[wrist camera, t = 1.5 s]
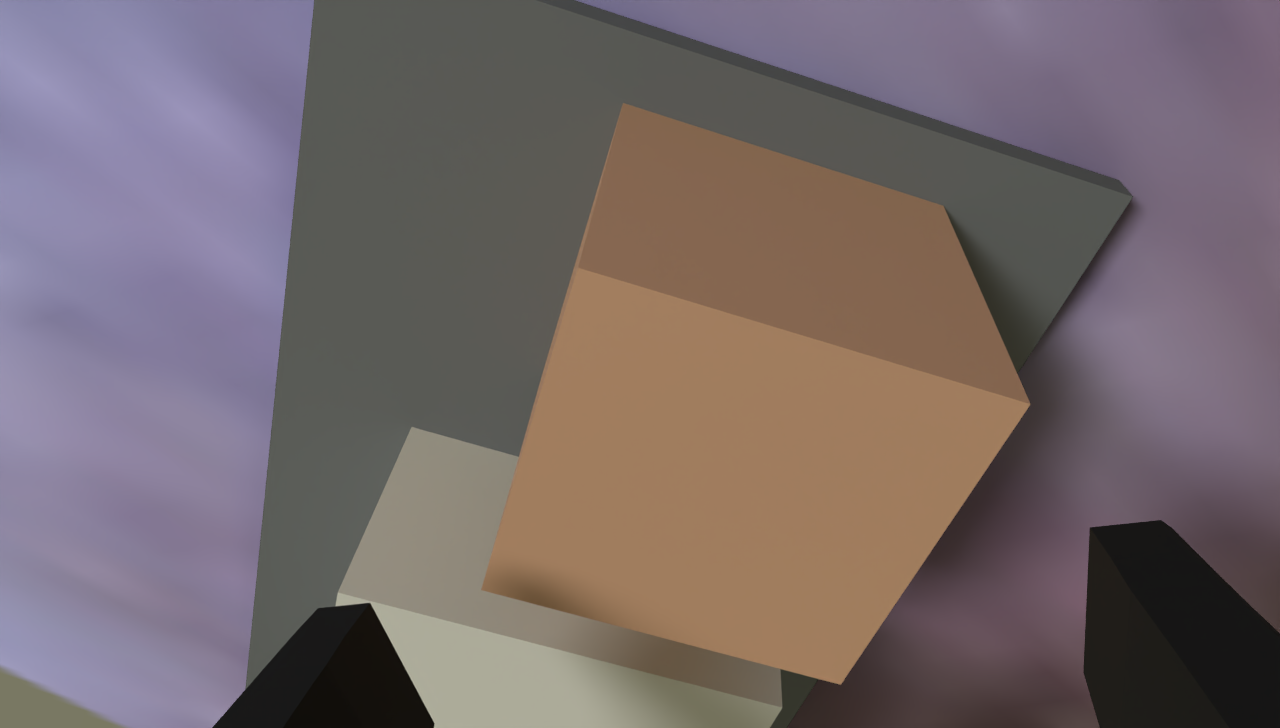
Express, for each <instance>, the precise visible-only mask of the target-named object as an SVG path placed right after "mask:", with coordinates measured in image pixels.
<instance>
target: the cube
mask: <svg viewBox="0 0 1280 728" xmlns="http://www.w3.org/2000/svg"><path fill="white" fill-rule="evenodd" d="M1029 406H1030V402H1029V399H1028V397H1027V395H1026V393H1025V390H1024V388H1023V386H1022V383H1021V381H1020V379H1019V377H1018V374H1017V372H1016V370H1015V368H1014V365H1013V363H1012V361H1011V358H1010V356H1009V354H1008V352H1007V349H1006V347H1005V345H1004V343H1003V340H1002V338H1001V336H1000V333H999V331H998V329H997V327H996V324H995V322H994V320H993V317H992V315H991V313H990V311H989V308H988V306H987V304H986V302H985V299H984V297H983V295H982V292H981V290H980V288H979V286H978V283H977V281H976V279H975V277H974V274H973V272H972V270H971V267H970V265H969V263H968V261H967V258H966V256H965V254H964V252H963V249H962V247H961V245H960V242H959V240H958V238H957V236H956V233H955V231H954V229H953V227H952V224H951V222H950V220H949V217H948V215H947V213H946V211H945V208H944V206H943V205H939V204H936V203H933V202H930V201H927V200H924V199H921V198H918V197H914V196H911V195H908V194H905V193H902V192H899V191H896V190H893V189H890V188H886V187H883V186H880V185H877V184H874V183H871V182H868V181H865V180H862V179H858V178H855V177H852V176H849V175H846V174H843V173H840V172H837V171H834V170H830V169H827V168H824V167H821V166H818V165H815V164H812V163H809V162H806V161H802V160H799V159H796V158H793V157H790V156H787V155H784V154H781V153H778V152H774V151H771V150H768V149H765V148H762V147H759V146H756V145H753V144H749V143H746V142H743V141H740V140H737V139H734V138H731V137H728V136H725V135H721V134H718V133H715V132H712V131H709V130H706V129H703V128H700V127H697V126H693V125H690V124H687V123H684V122H681V121H678V120H675V119H672V118H669V117H665V116H662V115H659V114H656V113H653V112H650V111H647V110H644V109H641V108H637V107H634V106H631V105H628V104H625V103H623V105H622V108H621V111H620V115H619V118H618V121H617V125H616V128H615V132H614V135H613V138H612V142H611V145H610V148H609V152H608V155H607V158H606V162H605V165H604V169H603V172H602V175H601V179H600V182H599V185H598V189H597V192H596V195H595V199H594V202H593V205H592V209H591V212H590V216H589V219H588V222H587V226H586V229H585V232H584V236H583V239H582V242H581V246H580V249H579V252H578V256H577V259H576V263H575V266H574V269H573V273H572V276H571V279H570V283H569V286H568V289H567V293H566V296H565V299H564V303H563V306H562V310H561V313H560V316H559V320H558V323H557V326H556V330H555V333H554V336H553V340H552V343H551V347H550V350H549V353H548V357H547V360H546V363H545V367H544V370H543V373H542V377H541V380H540V384H539V388H538V391H537V395H536V398H535V402H534V405H533V409H532V412H531V416H530V419H529V423H528V426H527V430H526V433H525V437H524V440H523V444H522V448H521V451H520V455H519V458H518V462H517V465H516V469H515V472H514V476H513V479H512V483H511V486H510V490H509V493H508V497H507V500H506V504H505V508H504V511H503V515H502V518H501V522H500V525H499V529H498V532H497V536H496V539H495V543H494V546H493V550H492V553H491V557H490V560H489V564H488V567H487V571H486V575H485V578H484V582H483V585H482V589H481V590H483V591H487V592H490V593H494V594H498V595H502V596H506V597H509V598H513V599H517V600H521V601H525V602H528V603H532V604H536V605H540V606H544V607H547V608H551V609H555V610H559V611H562V612H566V613H570V614H574V615H578V616H581V617H585V618H589V619H593V620H597V621H600V622H604V623H608V624H612V625H616V626H619V627H623V628H627V629H631V630H635V631H638V632H642V633H646V634H650V635H654V636H657V637H661V638H665V639H669V640H673V641H676V642H680V643H684V644H688V645H691V646H695V647H699V648H703V649H707V650H710V651H714V652H718V653H722V654H726V655H729V656H733V657H737V658H741V659H745V660H748V661H752V662H756V663H760V664H764V665H767V666H771V667H775V668H779V669H783V670H786V671H790V672H794V673H798V674H802V675H805V676H809V677H813V678H817V679H820V680H824V681H828V682H832V683H836V684H839V685H841V684H842V682H843V681H844V679H845V678H846V676H847V675H848V673H849V672H850V670H851V669H852V667H853V666H854V664H855V663H856V661H857V660H858V658H859V657H860V656H861V654H862V653H863V651H864V650H865V648H866V647H867V645H868V644H869V642H870V641H871V639H872V638H873V636H874V635H875V633H876V632H877V630H878V629H879V627H880V626H881V625H882V623H883V622H884V620H885V619H886V617H887V616H888V614H889V613H890V611H891V610H892V608H893V607H894V605H895V604H896V602H897V601H898V599H899V598H900V596H901V595H902V593H903V592H904V591H905V589H906V588H907V586H908V585H909V583H910V582H911V580H912V579H913V577H914V576H915V574H916V573H917V571H918V570H919V568H920V567H921V565H922V564H923V562H924V561H925V560H926V558H927V557H928V555H929V554H930V552H931V551H932V549H933V548H934V546H935V545H936V543H937V542H938V540H939V539H940V537H941V536H942V534H943V533H944V531H945V530H946V529H947V527H948V526H949V524H950V523H951V521H952V520H953V518H954V517H955V515H956V514H957V512H958V511H959V509H960V508H961V506H962V505H963V503H964V502H965V500H966V499H967V498H968V496H969V495H970V493H971V492H972V490H973V489H974V487H975V486H976V484H977V483H978V481H979V480H980V478H981V477H982V475H983V474H984V472H985V471H986V469H987V468H988V466H989V465H990V464H991V462H992V461H993V459H994V458H995V456H996V455H997V453H998V452H999V450H1000V449H1001V447H1002V446H1003V444H1004V443H1005V441H1006V440H1007V438H1008V437H1009V435H1010V434H1011V433H1012V431H1013V430H1014V428H1015V427H1016V425H1017V424H1018V422H1019V421H1020V419H1021V418H1022V416H1023V415H1024V413H1025V412H1026V410H1027V409H1028V407H1029Z"/></svg>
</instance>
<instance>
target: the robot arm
mask: <svg viewBox="0 0 1280 728" xmlns="http://www.w3.org/2000/svg"><path fill="white" fill-rule="evenodd" d="M1084 675H1085V679H1086V682H1087V685H1088V689H1089V692H1090V696H1091V699H1092V702H1093V706H1094V709H1095V712H1096V716H1097V719H1098V723H1099V726H1100V728H1280V633H1279V632H1278V631H1276V630H1275V629H1274V628H1273V627H1272V626H1271V625H1270V624H1269V623H1268V622H1267V621H1266V620H1265V619H1264V618H1263V617H1262V616H1261V615H1260V614H1259V613H1258V612H1256V611H1255V610H1254V609H1253V608H1252V607H1251V606H1250V605H1249V604H1248V603H1247V602H1246V601H1245V600H1244V599H1243V598H1242V597H1241V596H1240V595H1239V594H1238V593H1237V592H1236V591H1235V590H1234V589H1233V588H1232V587H1231V586H1230V585H1229V584H1228V583H1226V582H1225V581H1224V580H1223V579H1222V578H1221V577H1220V576H1219V575H1218V574H1217V573H1216V572H1215V571H1214V570H1213V569H1212V568H1211V567H1210V566H1209V565H1208V564H1207V563H1206V562H1205V561H1204V560H1203V559H1202V558H1201V557H1200V556H1199V555H1198V554H1197V553H1196V552H1195V551H1194V550H1193V549H1192V548H1191V547H1190V546H1189V545H1188V544H1187V543H1186V542H1185V541H1184V540H1183V539H1182V538H1181V537H1180V536H1179V535H1178V534H1177V533H1176V532H1175V531H1174V530H1173V529H1172V528H1171V527H1170V526H1168V525H1167V524H1165V523H1164V522H1163V521H1161V520H1158V521H1148V522H1139V523H1129V524H1120V525H1110V526H1101V527H1091V528H1090V537H1089V560H1088V583H1087V606H1086V629H1085V652H1084ZM213 728H434V721H433V720H432V718H431V716H430V714H429V712H428V710H427V708H426V707H425V705H424V703H423V701H422V699H421V697H420V695H419V693H418V692H417V690H416V688H415V686H414V684H413V682H412V680H411V678H410V677H409V675H408V673H407V671H406V669H405V667H404V665H403V663H402V662H401V660H400V658H399V656H398V654H397V652H396V650H395V648H394V647H393V645H392V643H391V641H390V639H389V637H388V635H387V633H386V632H385V630H384V628H383V626H382V624H381V622H380V620H379V618H378V617H377V615H376V613H375V611H374V609H373V607H372V605H371V603H363V604H353V605H343V606H334V607H324V608H318V609H317V610H316V611H315V612H314V613H313V614H312V615H311V616H310V617H309V618H308V619H307V620H306V621H305V623H304V624H303V625H302V626H301V627H300V628H299V629H298V630H297V631H296V632H295V634H294V635H293V636H292V637H291V638H290V639H289V640H288V641H287V643H286V644H285V645H284V646H283V647H282V648H281V649H280V650H279V652H278V653H277V654H276V655H275V656H274V657H273V658H272V660H271V661H270V662H269V663H268V664H267V665H266V667H265V668H264V669H263V670H262V671H261V672H260V673H259V675H258V676H257V677H256V678H255V679H254V680H253V682H252V683H251V684H250V685H249V686H248V687H247V688H246V690H245V691H244V692H243V693H242V694H241V695H240V697H239V698H238V699H237V700H236V701H235V702H234V704H233V705H232V706H231V707H230V708H229V709H228V710H227V712H226V713H225V714H224V715H223V716H222V717H221V718H220V720H219V721H218V722H217V723H216V724H215V725H214V726H213Z"/></svg>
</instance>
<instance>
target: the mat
mask: <svg viewBox="0 0 1280 728" xmlns="http://www.w3.org/2000/svg"><path fill="white" fill-rule="evenodd" d="M623 103H625V104H628V105H631V106H634V107H637V108H641V109H644V110H647V111H650V112H653V113H656V114H659V115H662V116H665V117H669V118H672V119H675V120H678V121H681V122H684V123H687V124H690V125H693V126H697V127H700V128H703V129H706V130H709V131H712V132H715V133H718V134H721V135H725V136H728V137H731V138H734V139H737V140H740V141H743V142H746V143H749V144H753V145H756V146H759V147H762V148H765V149H768V150H771V151H774V152H778V153H781V154H784V155H787V156H790V157H793V158H796V159H799V160H802V161H806V162H809V163H812V164H815V165H818V166H821V167H824V168H827V169H830V170H834V171H837V172H840V173H843V174H846V175H849V176H852V177H855V178H858V179H862V180H865V181H868V182H871V183H874V184H877V185H880V186H883V187H886V188H890V189H893V190H896V191H899V192H902V193H905V194H908V195H911V196H914V197H918V198H921V199H924V200H927V201H930V202H933V203H936V204H939V205H943V206H944V208H945V211H946V213H947V215H948V217H949V220H950V222H951V224H952V227H953V229H954V231H955V233H956V236H957V238H958V240H959V242H960V245H961V247H962V249H963V252H964V254H965V256H966V258H967V261H968V263H969V265H970V267H971V270H972V272H973V274H974V277H975V279H976V281H977V283H978V286H979V288H980V290H981V292H982V295H983V297H984V299H985V302H986V304H987V306H988V308H989V311H990V313H991V315H992V317H993V320H994V322H995V324H996V327H997V329H998V331H999V333H1000V336H1001V338H1002V340H1003V343H1004V345H1005V347H1006V349H1007V352H1008V354H1009V356H1010V358H1011V361H1012V363H1013V365H1014V368H1015V370H1016V372H1017V374H1018V372H1019V371H1020V369H1021V368H1022V366H1023V365H1024V363H1025V362H1026V360H1027V358H1028V357H1029V355H1030V354H1031V352H1032V351H1033V349H1034V348H1035V346H1036V345H1037V343H1038V342H1039V340H1040V339H1041V337H1042V335H1043V334H1044V332H1045V331H1046V329H1047V328H1048V326H1049V325H1050V323H1051V322H1052V320H1053V319H1054V317H1055V316H1056V314H1057V312H1058V311H1059V309H1060V308H1061V306H1062V305H1063V303H1064V302H1065V300H1066V299H1067V297H1068V296H1069V294H1070V293H1071V291H1072V289H1073V288H1074V286H1075V285H1076V283H1077V282H1078V280H1079V279H1080V277H1081V276H1082V274H1083V273H1084V271H1085V270H1086V268H1087V266H1088V265H1089V263H1090V262H1091V260H1092V259H1093V257H1094V256H1095V254H1096V253H1097V251H1098V250H1099V248H1100V247H1101V245H1102V243H1103V242H1104V240H1105V239H1106V237H1107V236H1108V234H1109V233H1110V231H1111V230H1112V228H1113V227H1114V225H1115V224H1116V222H1117V220H1118V219H1119V217H1120V216H1121V214H1122V213H1123V211H1124V210H1125V208H1126V207H1127V205H1128V204H1129V202H1130V201H1131V199H1132V197H1133V196H1132V195H1131V194H1130V193H1129V192H1128V190H1127V189H1126V188H1125V187H1124V186H1123V184H1122V183H1121V182H1120V181H1119V180H1116V179H1113V178H1110V177H1107V176H1104V175H1101V174H1098V173H1095V172H1092V171H1089V170H1086V169H1083V168H1080V167H1077V166H1074V165H1071V164H1068V163H1065V162H1062V161H1059V160H1056V159H1053V158H1050V157H1047V156H1044V155H1041V154H1038V153H1035V152H1032V151H1029V150H1026V149H1023V148H1020V147H1017V146H1014V145H1011V144H1008V143H1005V142H1002V141H999V140H996V139H993V138H989V137H986V136H983V135H980V134H977V133H974V132H971V131H968V130H965V129H962V128H959V127H956V126H953V125H950V124H947V123H944V122H941V121H938V120H935V119H932V118H929V117H926V116H923V115H920V114H917V113H914V112H911V111H908V110H905V109H902V108H899V107H896V106H893V105H890V104H887V103H884V102H881V101H878V100H875V99H872V98H869V97H866V96H862V95H859V94H856V93H853V92H850V91H847V90H844V89H841V88H838V87H835V86H832V85H829V84H826V83H823V82H820V81H817V80H814V79H811V78H808V77H805V76H802V75H799V74H796V73H793V72H790V71H787V70H784V69H781V68H778V67H775V66H772V65H769V64H766V63H763V62H760V61H757V60H754V59H751V58H748V57H745V56H742V55H739V54H735V53H732V52H729V51H726V50H723V49H720V48H717V47H714V46H711V45H708V44H705V43H702V42H699V41H696V40H693V39H690V38H687V37H684V36H681V35H678V34H675V33H672V32H669V31H666V30H663V29H660V28H657V27H654V26H651V25H648V24H645V23H642V22H639V21H636V20H633V19H630V18H627V17H624V16H621V15H618V14H615V13H612V12H608V11H605V10H602V9H599V8H596V7H593V6H590V5H587V4H584V3H581V2H578V1H575V0H314V9H313V19H312V29H311V39H310V49H309V59H308V69H307V79H306V89H305V99H304V109H303V119H302V129H301V139H300V149H299V159H298V169H297V179H296V189H295V199H294V209H293V219H292V229H291V239H290V249H289V259H288V269H287V279H286V289H285V299H284V309H283V319H282V329H281V339H280V349H279V359H278V369H277V379H276V389H275V399H274V410H273V420H272V430H271V440H270V450H269V460H268V470H267V480H266V490H265V500H264V510H263V520H262V530H261V540H260V550H259V560H258V570H257V580H256V590H255V600H254V610H253V620H252V630H251V640H250V650H249V660H248V670H247V680H246V688H247V687H248V686H249V685H250V684H251V683H252V682H253V680H254V679H255V678H256V677H257V676H258V675H259V673H260V672H261V671H262V670H263V669H264V668H265V667H266V665H267V664H268V663H269V662H270V661H271V660H272V658H273V657H274V656H275V655H276V654H277V653H278V652H279V650H280V649H281V648H282V647H283V646H284V645H285V644H286V643H287V641H288V640H289V639H290V638H291V637H292V636H293V635H294V634H295V632H296V631H297V630H298V629H299V628H300V627H301V626H302V625H303V624H304V623H305V621H306V620H307V619H308V618H309V617H310V616H311V615H312V614H313V613H314V612H315V611H316V610H317V609H318V608H324V607H334V606H335V605H336V600H337V594H338V591H339V589H340V586H341V584H342V582H343V580H344V577H345V575H346V573H347V571H348V568H349V566H350V564H351V562H352V559H353V557H354V555H355V553H356V550H357V548H358V546H359V544H360V542H361V539H362V537H363V535H364V533H365V530H366V528H367V526H368V524H369V521H370V519H371V517H372V515H373V512H374V510H375V508H376V506H377V503H378V501H379V499H380V497H381V494H382V492H383V490H384V488H385V486H386V483H387V481H388V479H389V477H390V474H391V472H392V470H393V468H394V465H395V463H396V461H397V459H398V456H399V454H400V452H401V450H402V447H403V445H404V443H405V441H406V438H407V436H408V434H409V432H410V430H411V427H414V428H417V429H421V430H424V431H428V432H432V433H435V434H439V435H442V436H446V437H449V438H453V439H457V440H460V441H464V442H467V443H471V444H475V445H478V446H482V447H485V448H489V449H492V450H496V451H500V452H503V453H507V454H510V455H514V456H518V457H519V455H520V451H521V448H522V444H523V440H524V437H525V433H526V430H527V426H528V423H529V419H530V416H531V412H532V409H533V405H534V402H535V398H536V395H537V391H538V388H539V384H540V380H541V377H542V373H543V370H544V367H545V363H546V360H547V357H548V353H549V350H550V347H551V343H552V340H553V336H554V333H555V330H556V326H557V323H558V320H559V316H560V313H561V310H562V306H563V303H564V299H565V296H566V293H567V289H568V286H569V283H570V279H571V276H572V273H573V269H574V266H575V263H576V259H577V256H578V252H579V249H580V246H581V242H582V239H583V236H584V232H585V229H586V226H587V222H588V219H589V216H590V212H591V209H592V205H593V202H594V199H595V195H596V192H597V189H598V185H599V182H600V179H601V175H602V172H603V169H604V165H605V162H606V158H607V155H608V152H609V148H610V145H611V142H612V138H613V135H614V132H615V128H616V125H617V121H618V118H619V115H620V111H621V108H622V105H623ZM780 672H781V690H782V709H781V711H780V712H779V714H778V716H777V717H776V719H775V720H774V722H773V724H772V725H771V727H770V728H787V727H788V725H789V724H790V722H791V720H792V719H793V717H794V716H795V714H796V713H797V711H798V710H799V708H800V707H801V705H802V704H803V702H804V701H805V699H806V697H807V696H808V694H809V693H810V691H811V690H812V688H813V687H814V685H815V684H816V682H817V681H818V679H817V678H813V677H809V676H805V675H802V674H798V673H794V672H790V671H786V670H783V669H780Z"/></svg>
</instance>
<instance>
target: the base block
mask: <svg viewBox="0 0 1280 728" xmlns="http://www.w3.org/2000/svg"><path fill="white" fill-rule="evenodd" d="M518 458H519V457H518V456H514V455H510V454H507V453H503V452H500V451H496V450H492V449H489V448H485V447H482V446H478V445H475V444H471V443H467V442H464V441H460V440H457V439H453V438H449V437H446V436H442V435H439V434H435V433H432V432H428V431H424V430H421V429H417V428H414V427H411V430H410V432H409V434H408V436H407V438H406V441H405V443H404V445H403V447H402V450H401V452H400V454H399V456H398V459H397V461H396V463H395V465H394V468H393V470H392V472H391V474H390V477H389V479H388V481H387V483H386V486H385V488H384V490H383V492H382V494H381V497H380V499H379V501H378V503H377V506H376V508H375V510H374V512H373V515H372V517H371V519H370V521H369V524H368V526H367V528H366V530H365V533H364V535H363V537H362V539H361V542H360V544H359V546H358V548H357V550H356V553H355V555H354V557H353V559H352V562H351V564H350V566H349V568H348V571H347V573H346V575H345V577H344V580H343V582H342V584H341V586H340V589H339V591H338V594H337V600H336V605H335V606H343V605H353V604H363V603H371V605H372V607H373V609H374V611H375V613H376V615H377V617H378V618H379V620H380V622H381V624H382V626H383V628H384V630H385V632H386V633H387V635H388V637H389V639H390V641H391V643H392V645H393V647H394V648H395V650H396V652H397V654H398V656H399V658H400V660H401V662H402V663H403V665H404V667H405V669H406V671H407V673H408V675H409V677H410V678H411V680H412V682H413V684H414V686H415V688H416V690H417V692H418V693H419V695H420V697H421V699H422V701H423V703H424V705H425V707H426V708H427V710H428V712H429V714H430V716H431V718H432V720H433V721H434V728H770V727H771V725H772V724H773V722H774V720H775V719H776V717H777V716H778V714H779V712H780V711H781V709H782V690H781V672H780V669H779V668H775V667H771V666H767V665H764V664H760V663H756V662H752V661H748V660H745V659H741V658H737V657H733V656H729V655H726V654H722V653H718V652H714V651H710V650H707V649H703V648H699V647H695V646H691V645H688V644H684V643H680V642H676V641H673V640H669V639H665V638H661V637H657V636H654V635H650V634H646V633H642V632H638V631H635V630H631V629H627V628H623V627H619V626H616V625H612V624H608V623H604V622H600V621H597V620H593V619H589V618H585V617H581V616H578V615H574V614H570V613H566V612H562V611H559V610H555V609H551V608H547V607H544V606H540V605H536V604H532V603H528V602H525V601H521V600H517V599H513V598H509V597H506V596H502V595H498V594H494V593H490V592H487V591H483V590H481V589H482V585H483V582H484V578H485V575H486V571H487V567H488V564H489V560H490V557H491V553H492V550H493V546H494V543H495V539H496V536H497V532H498V529H499V525H500V522H501V518H502V515H503V511H504V508H505V504H506V500H507V497H508V493H509V490H510V486H511V483H512V479H513V476H514V472H515V469H516V465H517V462H518Z"/></svg>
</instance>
